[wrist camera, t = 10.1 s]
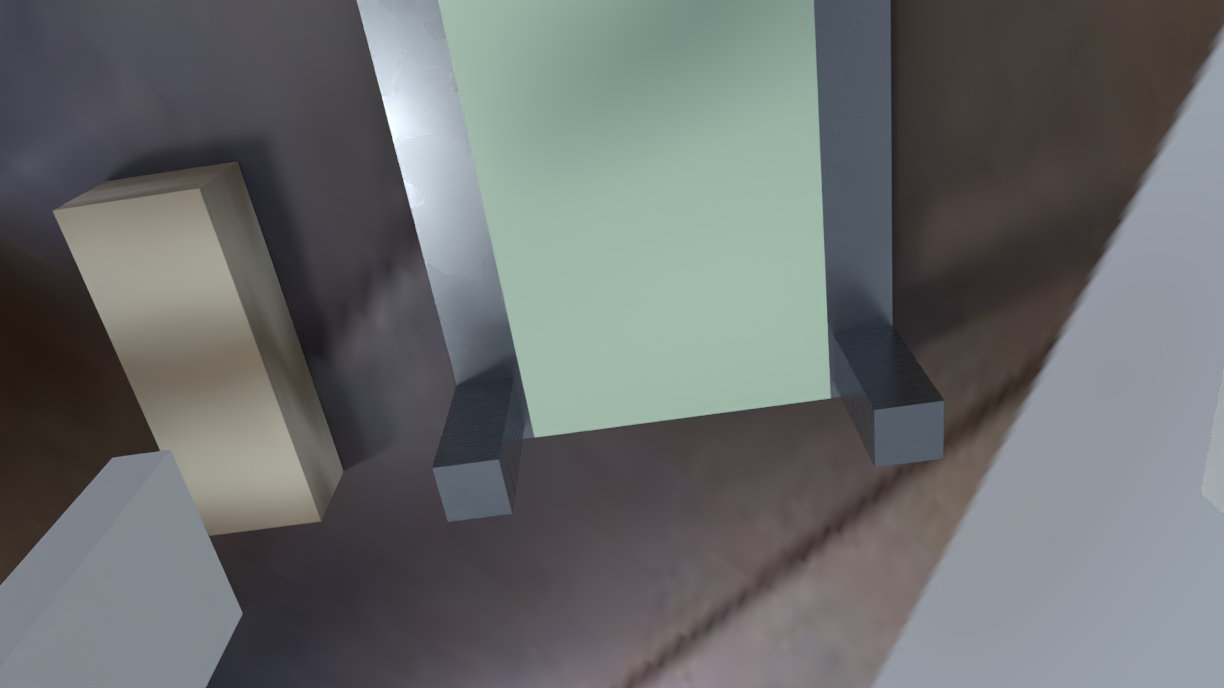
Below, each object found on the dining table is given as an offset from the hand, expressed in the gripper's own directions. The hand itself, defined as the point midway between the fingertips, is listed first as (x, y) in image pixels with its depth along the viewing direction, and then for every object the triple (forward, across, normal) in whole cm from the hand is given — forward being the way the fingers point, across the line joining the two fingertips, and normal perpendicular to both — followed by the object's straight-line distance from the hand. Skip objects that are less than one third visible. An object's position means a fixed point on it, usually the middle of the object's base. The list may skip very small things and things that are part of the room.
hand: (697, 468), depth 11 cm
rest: (+18, +15, +5) cm, 24 cm away
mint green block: (+14, 0, 0) cm, 14 cm away
